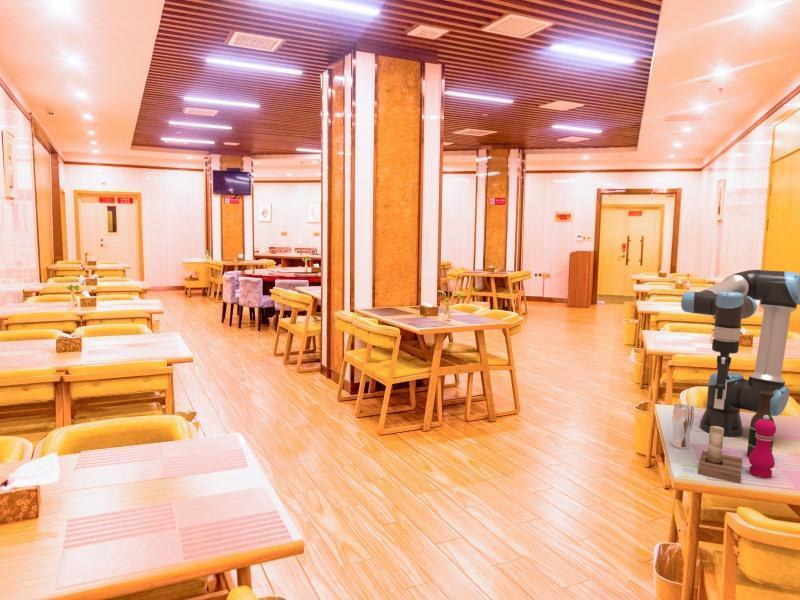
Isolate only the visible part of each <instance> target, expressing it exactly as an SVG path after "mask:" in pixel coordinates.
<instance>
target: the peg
mask: <svg viewBox="0 0 800 600" xmlns="http://www.w3.org/2000/svg"><path fill="white" fill-rule="evenodd" d="M723 435H724V428H722V427H718V426H711V427H710V433H709V436H708V437H709V438H708V449H707V451H708V457H707V461H708V463H712V464H717V465H719V464H720V463H721V455H722V454H723V445H724V444H723V442H724V436H723Z"/></svg>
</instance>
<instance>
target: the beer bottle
mask: <svg viewBox="0 0 800 600" xmlns="http://www.w3.org/2000/svg"><path fill="white" fill-rule="evenodd" d="M760 395H761V396H760V401H759V407H758V411H757V412H755V414H753V416H752V418H751V420H750V425H749V431H748V432H749V434H748V440H747V442H748V443H747V453H746V454H747V455H746V456H747V458H749V456H750V454H751V452H752V451H753V449H754V447H755V445H756V437H755V435H756V434H755V433H756V432H757V431H756V430H755V428H754V426H755V423H756V421H757V420H760V419H763V416H764V415H768V416H769V420H770V421H772V422H773V423H774V424H775V425H776V423H775V421H774V418H773V416H771V414H770V401H771V396H772V393H771V392H769V391H761V392H760ZM774 435H775V433H774V434H773V436H774ZM774 437H775V436H774ZM774 437H773V440H772V441H771V451H772V452H773V448H774V447H773V446H774Z"/></svg>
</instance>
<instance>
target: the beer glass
mask: <svg viewBox="0 0 800 600" xmlns="http://www.w3.org/2000/svg"><path fill="white" fill-rule="evenodd" d="M694 412H695V408H694V406H692V405H689V404H686V403H675V404H673V410H672V415H671V416H672V421H671V422H672V433H673V434H672V435H673V436H672V440H671V446H672V447H674V448H677V449H680V450H681V449H682V450H688V449H690V435H691V432H692V428H693V424H694V418H695V417H694V416H695V413H694Z"/></svg>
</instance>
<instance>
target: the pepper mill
mask: <svg viewBox="0 0 800 600" xmlns="http://www.w3.org/2000/svg"><path fill="white" fill-rule="evenodd" d="M774 423H775V422H774ZM774 423H773V422H772V421H770V420H769V416H768V415H764V416H763V419H760V420H757V421H756V423H755V426H754V428H755V430H756V431H757V432H756V433H755V434H756V435H755V437H756V445H755V447H754V449H753V451H752V452H751V454H750V456H749V457H748V462H749V464H750V466H749V470H748V471H749V474H750V475H753V476H755V477H757V478H762V479H763V478H764V479H771V477H772V475H773V470H772V469H773V468H774V467H775V463H776V462H775V461H776V460H775V457H774V455H773V450H772V451H771V441H772V440H773V441H774V438H773V437H775V436H773V434H774V435H775V433H776V432H777V426H776V423H775V424H774Z"/></svg>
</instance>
